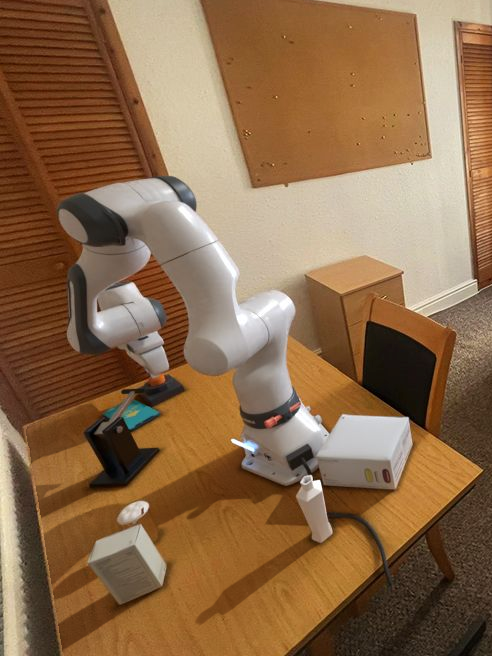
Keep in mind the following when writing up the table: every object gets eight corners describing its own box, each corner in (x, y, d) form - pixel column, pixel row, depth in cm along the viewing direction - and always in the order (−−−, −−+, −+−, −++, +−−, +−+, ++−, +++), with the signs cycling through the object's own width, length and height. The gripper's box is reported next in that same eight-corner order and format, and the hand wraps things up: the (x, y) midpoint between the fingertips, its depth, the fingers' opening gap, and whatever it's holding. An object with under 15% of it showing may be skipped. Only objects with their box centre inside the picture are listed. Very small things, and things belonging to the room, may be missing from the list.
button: (167, 381, 120) (165, 375, 119) (153, 388, 117) (150, 382, 117) (162, 377, 122) (160, 371, 121) (148, 384, 119) (145, 378, 118)
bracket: (127, 452, 100) (104, 409, 95) (160, 450, 101) (139, 407, 95) (90, 488, 91) (63, 442, 86) (127, 486, 92) (101, 440, 86)
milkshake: (149, 554, 77) (129, 519, 74) (127, 549, 78) (106, 514, 75) (172, 531, 82) (154, 497, 78) (151, 526, 83) (132, 492, 79)
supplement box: (322, 487, 91) (314, 456, 87) (348, 441, 103) (341, 413, 99) (395, 490, 89) (390, 460, 86) (413, 444, 101) (408, 415, 98)
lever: (127, 392, 100) (121, 386, 98) (150, 391, 100) (144, 385, 98) (93, 439, 91) (85, 434, 89) (118, 438, 91) (111, 433, 89)
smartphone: (132, 397, 118) (160, 412, 112) (133, 399, 118) (161, 414, 112) (100, 413, 112) (129, 430, 106) (102, 416, 112) (130, 432, 106)
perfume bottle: (327, 517, 84) (312, 465, 78) (338, 530, 81) (323, 477, 75) (305, 534, 81) (288, 481, 75) (316, 548, 78) (299, 494, 72)
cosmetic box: (167, 565, 76) (143, 521, 71) (162, 588, 72) (136, 544, 67) (124, 582, 73) (96, 539, 68) (116, 607, 69) (86, 563, 65)
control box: (185, 390, 122) (180, 380, 120) (152, 406, 116) (147, 395, 114) (171, 379, 127) (166, 369, 125) (139, 394, 121) (134, 383, 119)
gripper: (108, 330, 116) (127, 370, 121) (136, 351, 106) (155, 393, 111) (136, 321, 121) (152, 359, 126) (165, 340, 111) (181, 381, 116)
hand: (154, 375), depth 119 cm, fingers closed
